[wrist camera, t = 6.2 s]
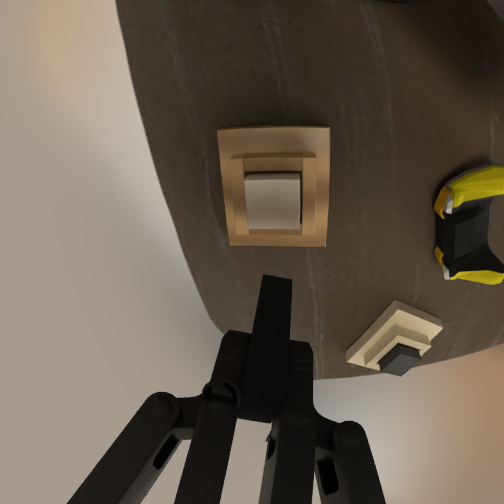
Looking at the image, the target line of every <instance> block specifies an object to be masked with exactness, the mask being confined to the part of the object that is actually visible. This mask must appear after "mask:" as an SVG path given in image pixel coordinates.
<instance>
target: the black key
mask: <svg viewBox="0 0 504 504" xmlns="http://www.w3.org/2000/svg"><path fill="white" fill-rule="evenodd" d="M420 360H421V356H420V353H419V350H418V349H417V348H414V347H411V346H408V345H404V344H401V343H399V342H398V343H397V344H396V345H395V346H394V347H393V348H392V349H391V350H390V351H389V352H388V353H387V354H385V355H384V356H383V357H382V358H381V359H380V360H379V361H378V362H379V368H380V372H384V373H389V374H393V375H397V376H402V375H403V374H405V373H406V372H407V371H408V370H410V369H411V368H412V367H413V366H414V365H415V364H417V363H418V362H419V361H420Z"/></svg>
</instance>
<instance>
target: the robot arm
mask: <svg viewBox="0 0 504 504" xmlns="http://www.w3.org/2000/svg"><path fill="white" fill-rule="evenodd" d="M379 1H385V2H394V3H405V2H412V1H416V0H379ZM487 2H488V3H489V4H490V5H491V7H492V8H493V9H494V11H495V12H496V14H497V15H498V16H499V18H500V19H501V21H502V22H503V24H504V0H487ZM291 300H292V279H286V278H281V277H275V276H270V275H264V274H263V277H262V283H261V288H260V293H259V298H258V304H257V309H256V314H255V319H254V325H253V330H252V334H250V333H245V332H240V331H234V330H229V331H228V332H227V333H226V334H225V335H224V336H223V338H222V341H221V345H220V349H219V352H218V355H217V359H216V362H215V366H214V369H213V373H212V377H211V380H210V382H209V383H207V384H206V385H205V386H204V388H203V390H202V394H200V395H198V396H195V397H186V398H176V397H175V396H173V395H172V394H170V393H167V392H157V393H154V394H152V395H150V396H149V397H148V398H147V399H146V401H145V402H144V403H143V405H142V406H141V407H140V409H139V410H138V411H137V412H136V414H135V415H134V416H133V418H132V419H131V420H130V422H129V423H128V424H127V426H126V427H125V428H124V430H123V431H122V432H121V434H120V435H119V436H118V437H117V439H116V440H115V441H114V443H113V444H112V445H111V447H110V448H109V449H108V451H107V452H106V453H105V455H104V456H103V457H102V458H101V460H100V461H99V462H98V464H97V465H96V466H95V468H94V469H93V470H92V472H91V473H90V474H89V475H88V477H87V478H86V479H85V481H84V482H83V483H82V484H81V486H80V487H79V488H78V490H77V491H76V492H75V494H74V495H73V496H72V498H71V499H70V500H69V501H68V503H67V504H140V503H141V502H142V500H143V499H144V497H145V496H146V495H147V493H148V492H149V490H150V489H151V487H152V486H153V484H154V483H155V481H156V480H157V478H158V477H159V475H160V474H161V472H162V471H163V469H164V468H165V466H166V465H167V463H168V461H169V460H170V459H171V457H172V455H173V454H174V452H175V451H176V449H177V448H178V446H179V445H180V443H181V442H182V440H189V439H192V440H191V444H190V447H189V451H188V454H187V458H186V462H185V465H184V469H183V473H182V476H181V480H180V484H179V487H178V491H177V494H176V498H175V502H174V504H219V503H220V499H221V494H222V489H223V485H224V480H225V475H226V470H227V465H228V461H229V456H230V450H231V446H232V441H233V436H234V431H235V425H236V421H237V418H239V419H245V420H250V421H257V422H263V423H271V422H272V428H271V431H270V433H269V435H268V436H267V439H266V441H267V442H268V445H267V452H266V459H265V466H264V473H263V479H262V485H261V491H260V497H259V504H312V494H313V481H314V471H315V475H316V479H317V485H318V490H319V495H320V500H321V504H386V503H385V498H384V495H383V491H382V487H381V484H380V480H379V477H378V473H377V469H376V466H375V463H374V459H373V456H372V452H371V449H370V446H369V443H368V439H367V436H366V433H365V431H364V429H363V427H362V426H361V425H360V424H358V423H357V422H354V421H344V422H342V423H337V422H335V421H332V420H329V419H327V418H325V417H323V416H321V415H320V414H319V413H318V412H317V411H316V409H315V407H314V405H313V351H312V349H311V347H310V344H309V342H302V341H295V340H289V338H290V320H291Z"/></svg>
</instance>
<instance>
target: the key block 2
mask: <svg viewBox="0 0 504 504" xmlns="http://www.w3.org/2000/svg"><path fill="white" fill-rule="evenodd" d="M442 329H443V326H442V323H441V321H440V319H439V318H437V317H435V316H432V315H430V314H428V313H426V312H423V311H421V310H419V309H416V308H414V307H412V306H410V305H407V304H405V303H403V302H400V301H398V300H396V299H394V301H393V302H392V303H391V304H390V305H389V306H388V308H387V309H386V310H385V311H384V312H383V313H382V314H381V315H380V317H379V318H378V319H377V320H376V321H375V322H374V323H373V324H372V325H371V326H370V328H369V329H368V330H367V331H366V332H365V333H364V334H363V335H362V336H361V337H360V338H359V339H358V340H357V341H356V342H355V343H354V344H353V345H352V346H351V347H350V348H349V349H348V350H347V351H346V358H347V362H349V363H353V364H357V365H360V366H364V367H368V368H372V369H376V370H380V368H379V362H378V361H379V360H380V359H381V358H382V357H383V356H384V355H385V354H387V353H388V352H389V351H390V350H391V349H392V348H393V347H394V346H395V345H396V344H397V343H398V342H399V343H401V344H404V345H408V346H411V347H414V348H417V349H418V350H419V353H420V356H422V355H423V354H424V353H425V352H426V351H427V350H428V349H429V348H430V347H431V344H430V341H431V340H432V339H433V338H434V337H435V336H436V335H437V334H438V333H439V332H440V331H441V330H442Z"/></svg>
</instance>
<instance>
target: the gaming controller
mask: <svg viewBox="0 0 504 504" xmlns="http://www.w3.org/2000/svg"><path fill="white" fill-rule="evenodd" d="M503 194H504V165H502V164H493V163H488V164H485V165H482V166H479V167H476V168H473V169H470V170H467V171H465V172H463V173H461V174H459V175H458V176H456V177H454V178H453V179H451V180H449V181H448V182H447V183H446V185H445V186H443V188H442V190H441V192H440V194H439V196H438V198H437V200H436V202H435V205H434V209H435V211H436V212H437V247H436V249H435V250H434V252H435V255H436V257H437V259H438V262H439V264H440V266H441V268H442V269H443V271H444V278H445V279H450V280H453V279H455V278H460V279H465V280H470V281H475V282H480V283H485V284H490V285H493V284H498V283H501V282H502V280H503V278H504V264H503V263H502V262H501V261H500V260H499V259H498V258H497V257H496V256H495V255H494V254H493V252H492V251H491V250H490V249H489V247H488V244H487V235H488V223H489V207H490V203H491V201H492V199H493V198H494V197H497V196H500V195H503Z"/></svg>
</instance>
